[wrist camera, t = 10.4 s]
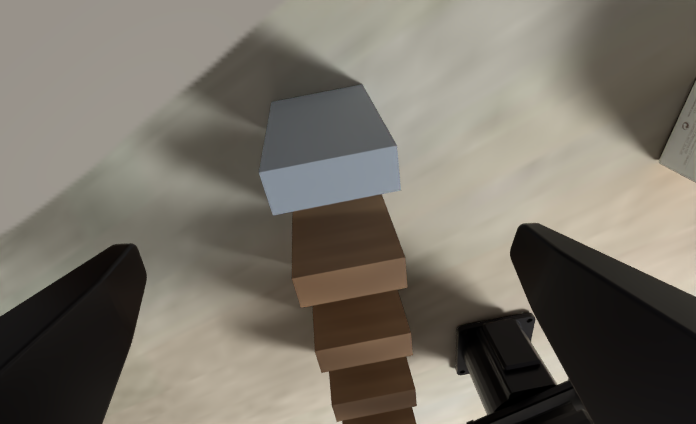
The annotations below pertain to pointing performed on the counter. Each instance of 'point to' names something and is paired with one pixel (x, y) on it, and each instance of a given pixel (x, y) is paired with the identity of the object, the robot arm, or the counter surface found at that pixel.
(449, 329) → the counter surface
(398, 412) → the domino
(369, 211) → the domino
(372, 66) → the counter surface
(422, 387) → the counter surface
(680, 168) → the small box
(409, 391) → the domino
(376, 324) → the domino
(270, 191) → the domino
